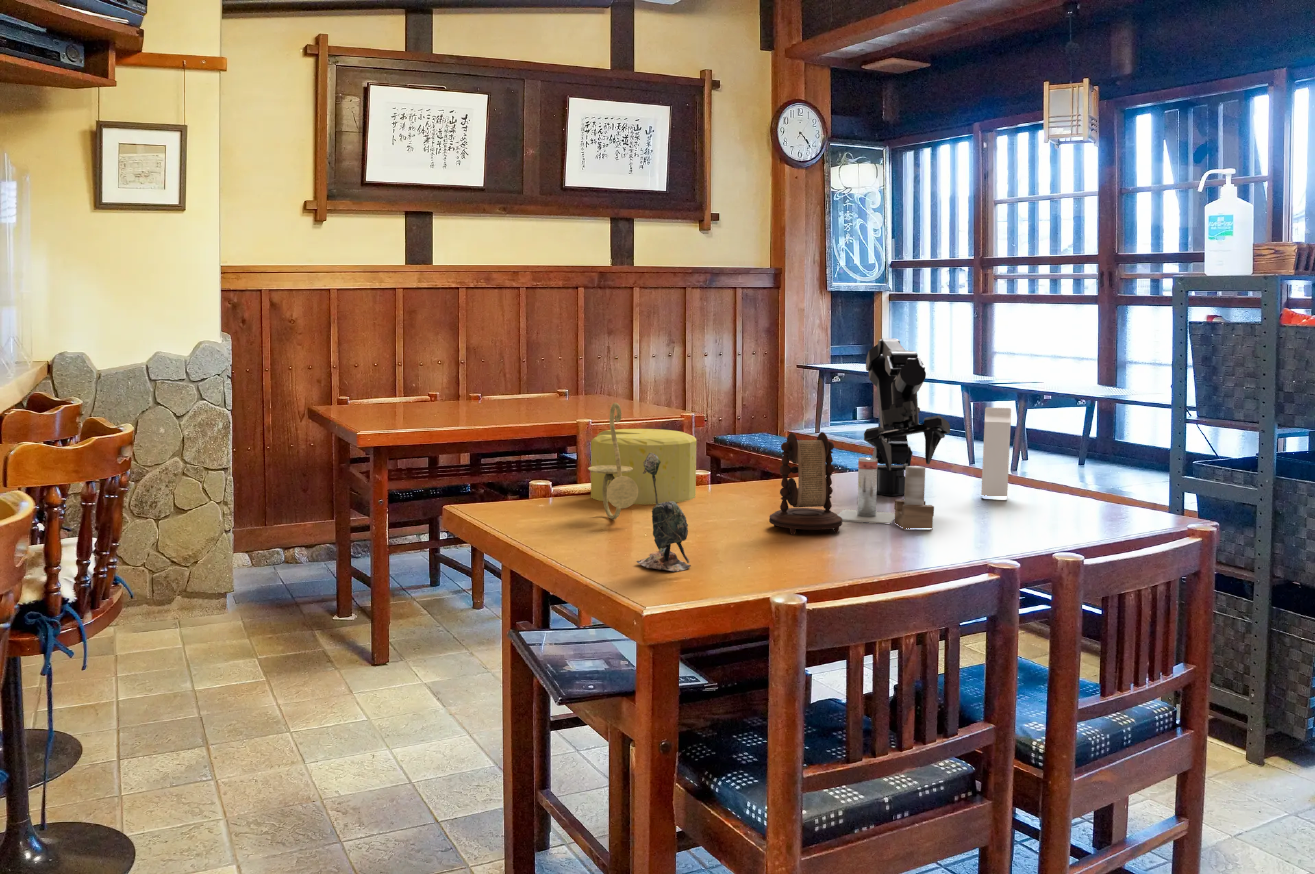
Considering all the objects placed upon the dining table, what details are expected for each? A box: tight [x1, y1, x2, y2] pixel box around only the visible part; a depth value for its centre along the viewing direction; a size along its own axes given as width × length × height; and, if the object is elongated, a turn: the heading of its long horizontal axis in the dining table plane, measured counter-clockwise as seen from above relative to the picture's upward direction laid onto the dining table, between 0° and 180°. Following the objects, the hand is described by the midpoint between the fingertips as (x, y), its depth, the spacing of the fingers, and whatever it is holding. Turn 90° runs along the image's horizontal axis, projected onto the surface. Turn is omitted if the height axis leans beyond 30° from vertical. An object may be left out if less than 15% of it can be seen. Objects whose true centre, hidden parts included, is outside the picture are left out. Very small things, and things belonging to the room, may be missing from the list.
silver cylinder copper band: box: [856, 456, 879, 517], centre depth 238 cm, size 4×4×12 cm
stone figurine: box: [636, 453, 692, 573], centre depth 188 cm, size 8×11×20 cm
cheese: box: [590, 428, 697, 505], centre depth 264 cm, size 26×26×15 cm
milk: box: [980, 406, 1012, 497], centre depth 265 cm, size 6×6×22 cm
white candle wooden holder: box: [894, 465, 935, 530], centre depth 228 cm, size 8×6×12 cm
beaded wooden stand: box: [768, 432, 843, 536], centre depth 224 cm, size 15×15×20 cm
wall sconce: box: [587, 402, 638, 521], centre depth 232 cm, size 14×10×25 cm
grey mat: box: [837, 508, 895, 524], centre depth 239 cm, size 12×12×1 cm
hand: (908, 467), depth 248 cm, fingers open, 9 cm apart
